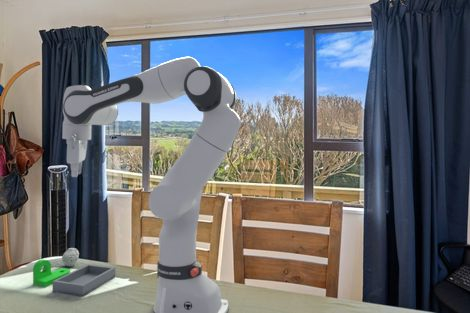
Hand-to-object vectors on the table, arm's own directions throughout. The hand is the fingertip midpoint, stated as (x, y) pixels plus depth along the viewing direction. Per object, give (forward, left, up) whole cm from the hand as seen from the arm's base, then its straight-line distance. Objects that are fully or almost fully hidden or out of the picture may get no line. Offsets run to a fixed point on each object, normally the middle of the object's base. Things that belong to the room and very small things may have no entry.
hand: (76, 175), depth 116 cm
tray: (-1, -3, -38) cm, 38 cm away
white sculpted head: (+17, -16, -39) cm, 45 cm away
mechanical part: (+13, -3, -39) cm, 41 cm away
